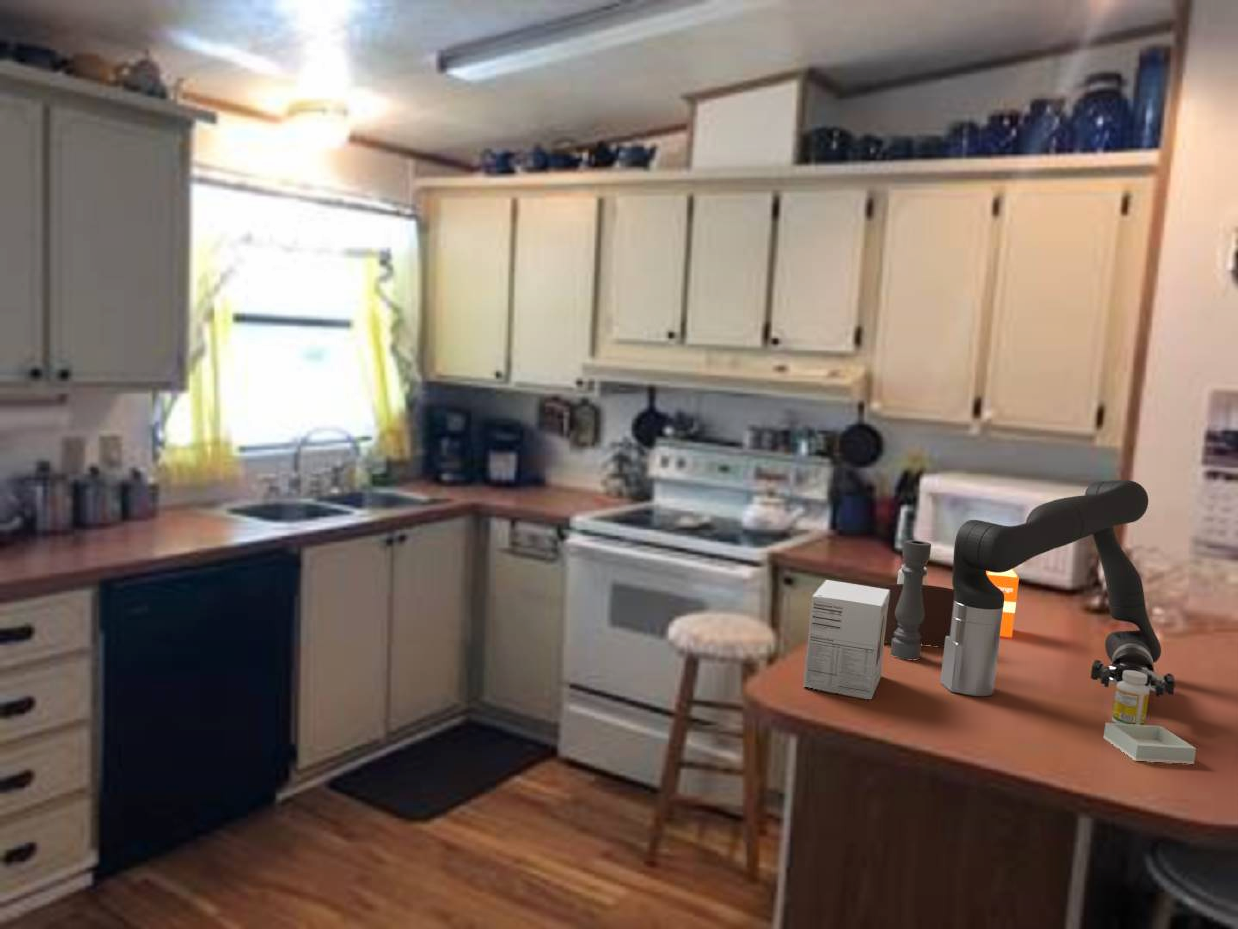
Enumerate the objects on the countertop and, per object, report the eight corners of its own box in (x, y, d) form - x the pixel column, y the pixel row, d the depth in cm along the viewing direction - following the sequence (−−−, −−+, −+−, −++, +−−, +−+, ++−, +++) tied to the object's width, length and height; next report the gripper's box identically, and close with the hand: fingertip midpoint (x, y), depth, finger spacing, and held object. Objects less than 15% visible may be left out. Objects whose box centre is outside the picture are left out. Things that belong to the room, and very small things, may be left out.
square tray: (1135, 761, 166) (1137, 745, 166) (1103, 738, 176) (1105, 722, 176) (1193, 764, 167) (1196, 748, 166) (1158, 741, 176) (1160, 725, 176)
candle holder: (924, 657, 218) (937, 544, 215) (911, 662, 213) (924, 546, 210) (898, 650, 222) (910, 538, 219) (885, 655, 217) (897, 541, 214)
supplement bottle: (1122, 729, 181) (1130, 677, 180) (1105, 718, 187) (1112, 668, 186) (1150, 730, 182) (1158, 679, 181) (1133, 719, 187) (1140, 669, 186)
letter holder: (959, 650, 226) (966, 588, 225) (871, 643, 226) (878, 582, 225) (945, 637, 236) (952, 578, 235) (861, 631, 236) (867, 572, 235)
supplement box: (873, 701, 186) (883, 606, 184) (801, 688, 191) (810, 595, 189) (882, 676, 202) (892, 588, 200) (816, 664, 207) (825, 578, 205)
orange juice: (1002, 627, 249) (1011, 548, 247) (1012, 637, 240) (1022, 555, 238) (969, 624, 250) (979, 545, 247) (978, 634, 241) (988, 552, 239)
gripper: (1095, 640, 204) (1092, 659, 190) (1175, 654, 198) (1178, 675, 183) (1091, 676, 205) (1087, 697, 191) (1170, 691, 199) (1172, 715, 184)
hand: (1132, 686), depth 187 cm, fingers open, 8 cm apart
